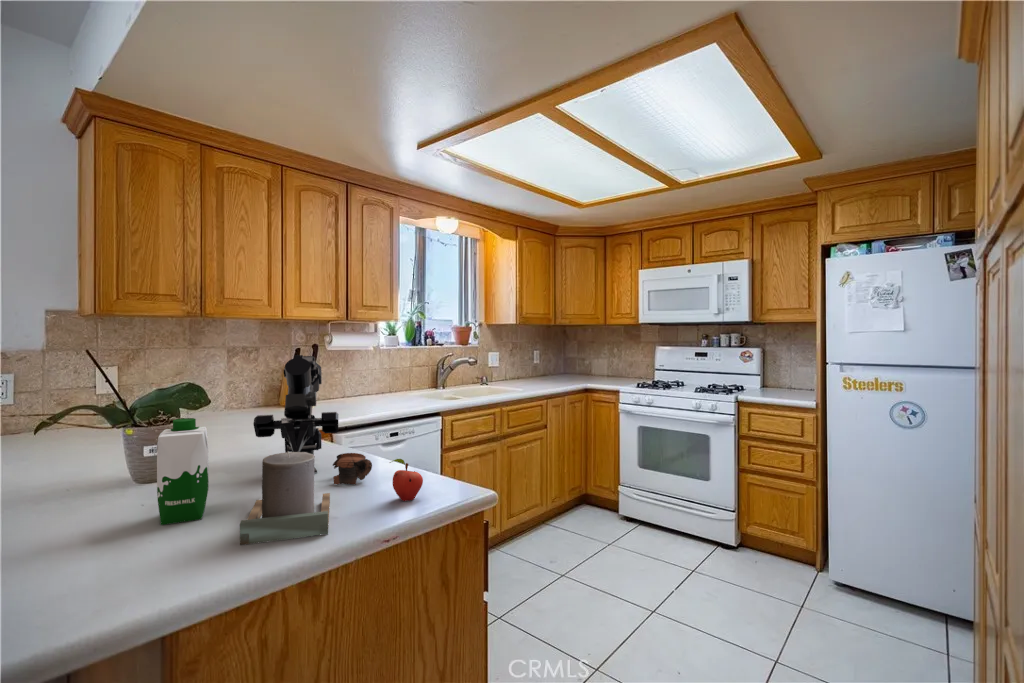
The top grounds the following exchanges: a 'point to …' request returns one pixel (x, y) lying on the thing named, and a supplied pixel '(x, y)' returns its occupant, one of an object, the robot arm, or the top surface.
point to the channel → (284, 524)
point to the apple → (406, 482)
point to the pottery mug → (351, 468)
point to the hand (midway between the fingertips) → (295, 454)
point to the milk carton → (182, 472)
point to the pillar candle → (287, 484)
